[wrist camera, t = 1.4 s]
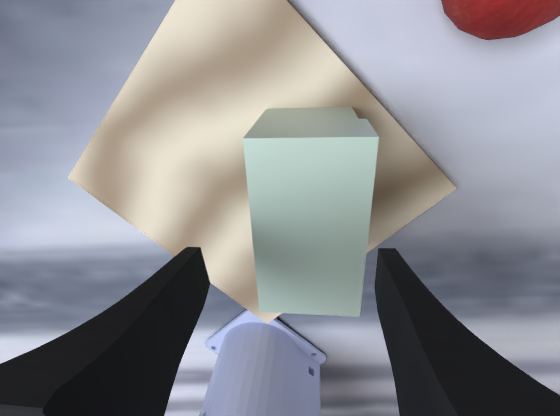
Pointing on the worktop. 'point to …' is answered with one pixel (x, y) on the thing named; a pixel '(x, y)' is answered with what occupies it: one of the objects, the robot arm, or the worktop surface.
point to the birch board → (233, 134)
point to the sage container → (310, 208)
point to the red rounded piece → (500, 16)
